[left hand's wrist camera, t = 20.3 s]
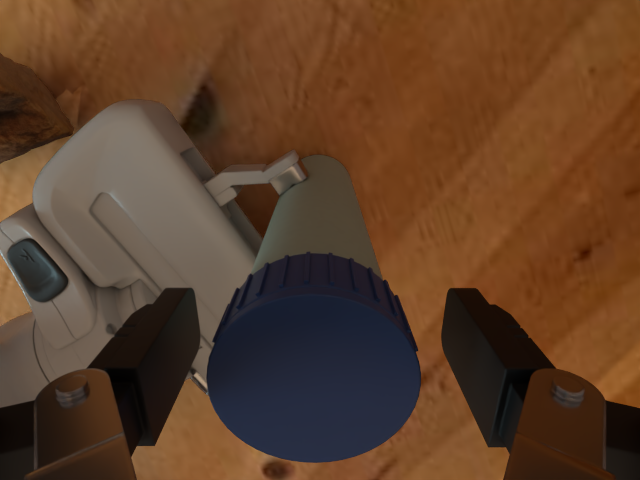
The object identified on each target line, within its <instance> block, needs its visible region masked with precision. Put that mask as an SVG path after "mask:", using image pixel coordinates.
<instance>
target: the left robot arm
mask: <svg viewBox="0 0 640 480" xmlns="http://www.w3.org/2000/svg"><path fill="white" fill-rule="evenodd" d="M441 339H442V347H443V351H444V354H445V356H446V358H447V360H448V362H449V364H450V367H451V369H452V371H453V373H454V375H455V377H456V379H457V382H458V384H459V386H460V388H461V390H462V392H463V394H464V396H465V399H466V401H467V403H468V405H469V407H470V409H471V411H472V414H473V416H474V418H475V420H476V422H477V424H478V426H479V429H480V431H481V433H482V435H483V437H484V439H485V441H486V444H487V446H488V447H506V448H507V450H508V452H509V454H510V456H509V460H508V463H507V467H506V471H505V475H504V479H503V480H640V408H636V407H632V406H627V405H623V404H618V403H614V402H610V401H606V400H605V399H604V397H603V395H602V394H601V392H600V391H599V390H598V389H597V388H596V387H595V386H594V385H592V384H591V383H590V382H588V381H587V380H585V379H583V378H582V377H579V376H577V375H575V374H573V373H570V372H567V371H564V370H559V369H556V368H555V367H554V365H553V364H552V363H551V362H550V361H549V360H548V358H547V357H546V356H545V355H544V354H543V352H542V351H541V350H540V349H539V348H538V346H537V345H536V344H535V343H534V342H533V340H532V339H531V338H528V335H527V333H526V332H525V331H524V330H523V329H522V328H520V325H519V324H518V323H517V321H516V320H515V319H514V318H513V317H512V315H511V314H509V313H508V312H506V311H505V310H503V309H501V308H500V307H498V306H497V305H489V303H488V302H487V301H486V299H485V298H484V297H483V296H482V294H481V293H480V292H479V290H478V289H476V288H450V289H449V290H448V293H447V297H446V304H445V311H444V318H443V325H442V333H441ZM199 346H200V325H199V318H198V311H197V304H196V297H195V292H194V290H193V288H165V289H164V290H163V291H162V293H161V294H160V295H159V297H158V298H157V299H156V300H155V302H154V303H153V304H146V305H145V306H143V307H141V308H140V309H138V310H137V311H135V312H134V313H132V314H131V315H130V316H129V318H128V319H127V320H126V321H125V322H124V324H123V325H122V327H120V328H119V330H118V331H117V332H116V333H115V334H114V337H112V338H111V339H110V340H109V342H108V343H107V344H106V345H105V346H104V348H103V349H102V350H101V351H100V353H99V354H98V355H97V356H96V357H95V359H94V360H93V361H92V362H91V363H90V365H89V366H88V367H87V368H86V369H81V370H76V371H73V372H70V373H67V374H65V375H63V376H61V377H58V378H57V379H55V380H53V381H52V382H50V383H49V384H48V385H46V386H45V387H44V388H43V389H42V390H41V391H40V392H39V394H38V395H37V397H36V399H35V400H33V401H28V402H24V403H19V404H15V405H10V406H6V407H1V408H0V480H137V479H136V475H135V471H134V467H133V463H132V460H131V456H132V454H133V452H134V450H135V449H136V447H137V446H155V444H156V442H157V440H158V437H159V435H160V433H161V431H162V429H163V427H164V424H165V422H166V420H167V418H168V416H169V414H170V411H171V409H172V407H173V405H174V403H175V401H176V398H177V396H178V394H179V392H180V390H181V388H182V385H183V383H184V381H185V379H186V377H187V375H188V372H189V370H190V368H191V366H192V364H193V362H194V359H195V357H196V355H197V353H198V350H199Z"/></svg>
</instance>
